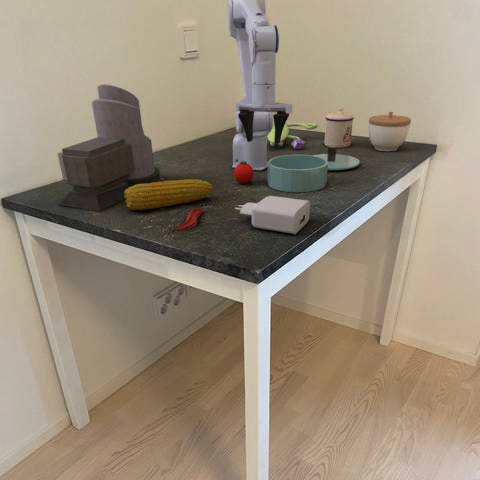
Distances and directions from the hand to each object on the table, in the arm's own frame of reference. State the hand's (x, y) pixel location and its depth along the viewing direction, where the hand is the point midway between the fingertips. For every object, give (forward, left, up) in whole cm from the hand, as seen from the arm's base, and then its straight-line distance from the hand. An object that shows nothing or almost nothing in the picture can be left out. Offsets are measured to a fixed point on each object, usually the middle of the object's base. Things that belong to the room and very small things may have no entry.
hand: (263, 142), depth 124 cm
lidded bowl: (+24, +46, -10) cm, 53 cm away
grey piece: (-31, -22, -10) cm, 40 cm away
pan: (+10, 0, -10) cm, 14 cm away
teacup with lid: (+8, +47, -10) cm, 49 cm away
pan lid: (+13, +21, -9) cm, 26 cm away
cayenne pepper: (-2, -34, -10) cm, 36 cm away
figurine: (-10, +43, -10) cm, 45 cm away
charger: (+14, -29, -10) cm, 34 cm away
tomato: (-3, -5, -7) cm, 9 cm away
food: (-12, -27, -10) cm, 31 cm away
